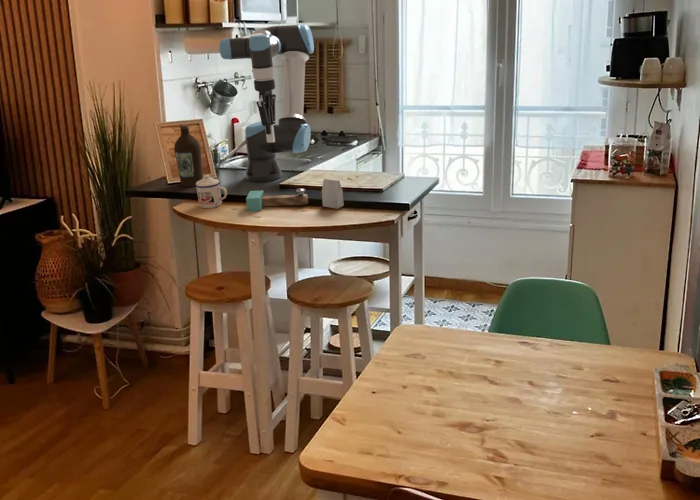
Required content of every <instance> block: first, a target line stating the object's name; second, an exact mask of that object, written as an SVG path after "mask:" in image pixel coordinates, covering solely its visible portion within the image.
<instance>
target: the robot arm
mask: <svg viewBox="0 0 700 500" xmlns="http://www.w3.org/2000/svg"><path fill="white" fill-rule="evenodd" d="M313 37H314V36H313V33H312V30H311V28H310V26H309V25H307V24H291V25H290V24H289V25H272V26H268V27H265V28H261V29H258V30H255V31H252V33H251V34H248V35H243V36H239V37H234V38H233V37H232V38H230V37H228V38H223V39H221V40H220V42H219V46H218V47H219V48H218V50H219V54H220V57H221V59H223V60H242V59H243V60H244V59H249V60H250V59H251V61H250V62H251V67H252V68H251V69H252V70H251V72H252V77H253V79H254V80H253V87H254V90H255V91H256V92H258V99H259V101H258V100H257V101H256V103H255V104H256V106H257V108H258V112H259V117H260V121H257V122H253V123H251V124H249V125H247V126H246V127H245V129H244V131H245V132H244V133H245V136H244V138H245V144H246V153H247V154H246V155H247V167H246V170H245V180H247V181H249V182H251V183H252V182H254V183H262V182H263V183H264V182H270V181H275V180H277V179H280V178H281V177H282V175H283V174H282V169H281V167H280V166H281V165H279V162H278V160H277V155H276V154H291V153H293V154H298V153H304V152H306V151H307V150H308V149H309V146H310V144H311V143H310V142H311V136H312V134H311V131H312V130H311V126H310V124H308V123H307V122H308V121H307V119H306V118H305V117H304V106H305V105H304V104H305V77H306V62H307V61H308V60H309V59H310V54H313V53H314V51H315V44H314V38H313ZM277 55H281V56H280V57H281V58H282V59H283V60H284V69H283V70H284V71H283V74H284V76H283V98H282V103H283V104H282V115H281V117H279V118H278V124H276V123H277V122H276V97H277V96H276V94H273V90H275V89H276V84H275V82H276V81H275V79H274V77H275V73H274V72H275V71H274V64H273V58H274V57H275V56H277Z"/></svg>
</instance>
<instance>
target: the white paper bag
mask: <svg viewBox="0 0 700 500" xmlns="http://www.w3.org/2000/svg"><path fill="white" fill-rule="evenodd" d="M321 198H322V199H321V200H322V201H321V202H322V207H325V208H331V209H337V210H338V209H340V208H342V207H343V206H345V205H344V192H343V187H342V185H341V182H340V180H338V179H330V178H329V179H328V178H324V179H323V182H322V189H321Z"/></svg>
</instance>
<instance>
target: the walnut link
mask: <svg viewBox="0 0 700 500" xmlns="http://www.w3.org/2000/svg"><path fill="white" fill-rule="evenodd" d="M308 204H309V197H308V194H307V193H304V195H302V196H299V195H298V193H297V194H282V195H280V194H279V195H262V206H263V207H275V206H276V207H277V206H306V205H308Z"/></svg>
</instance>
